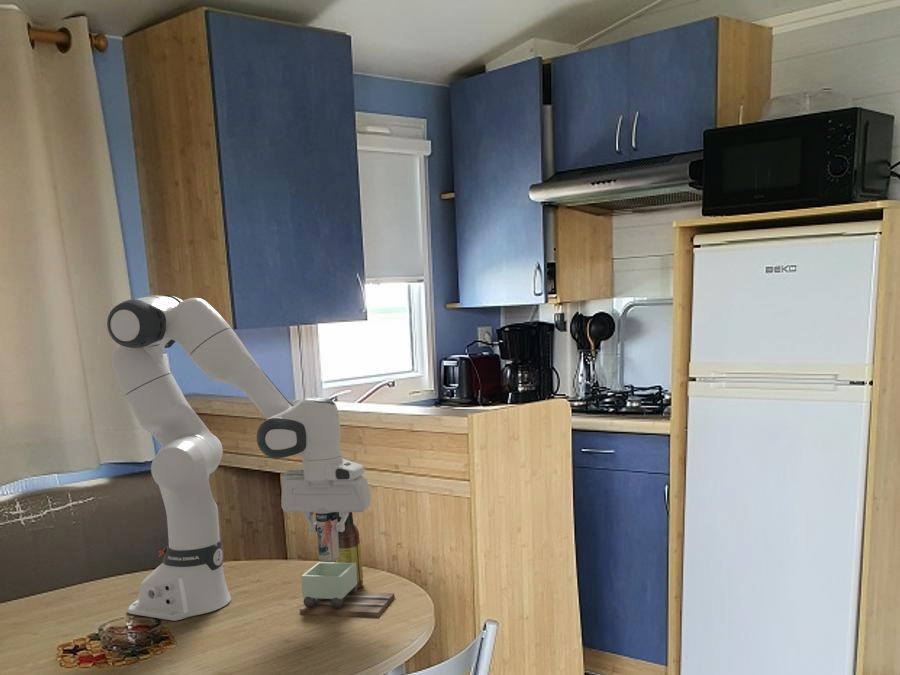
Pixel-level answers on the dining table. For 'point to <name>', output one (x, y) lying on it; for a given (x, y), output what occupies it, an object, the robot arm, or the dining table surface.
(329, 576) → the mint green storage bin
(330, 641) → the dining table surface
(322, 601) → the walnut track
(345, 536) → the sauce bottle
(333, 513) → the beer can
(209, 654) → the dining table surface
